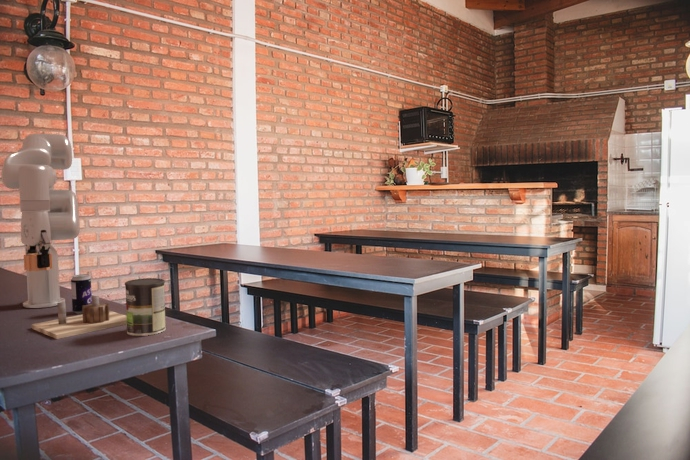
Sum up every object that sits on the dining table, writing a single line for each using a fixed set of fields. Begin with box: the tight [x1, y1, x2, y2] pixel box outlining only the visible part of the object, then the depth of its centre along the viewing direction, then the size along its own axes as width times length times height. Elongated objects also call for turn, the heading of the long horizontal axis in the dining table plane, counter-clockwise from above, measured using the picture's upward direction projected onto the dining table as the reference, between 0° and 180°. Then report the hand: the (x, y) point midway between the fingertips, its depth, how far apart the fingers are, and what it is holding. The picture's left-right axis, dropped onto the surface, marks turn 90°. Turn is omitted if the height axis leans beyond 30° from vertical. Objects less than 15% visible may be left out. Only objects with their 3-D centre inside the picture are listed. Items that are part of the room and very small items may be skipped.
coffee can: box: [124, 277, 167, 337], centre depth 142 cm, size 10×10×14 cm
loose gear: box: [23, 253, 52, 272], centre depth 153 cm, size 7×7×4 cm
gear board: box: [30, 295, 127, 340], centre depth 149 cm, size 17×22×8 cm
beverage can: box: [70, 273, 93, 315], centre depth 165 cm, size 6×6×12 cm
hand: (38, 265), depth 153 cm, fingers closed on loose gear, 7 cm apart
